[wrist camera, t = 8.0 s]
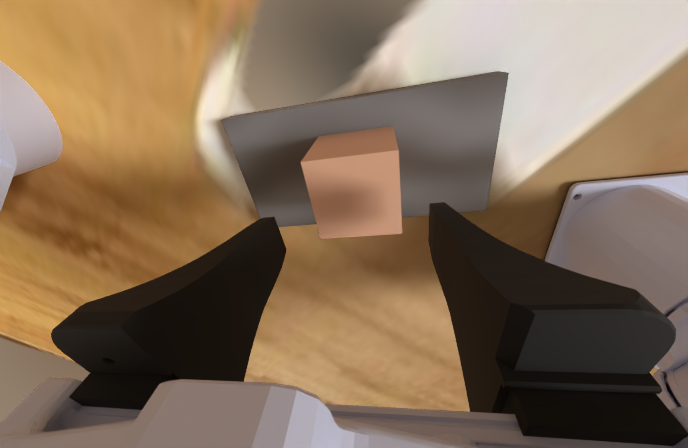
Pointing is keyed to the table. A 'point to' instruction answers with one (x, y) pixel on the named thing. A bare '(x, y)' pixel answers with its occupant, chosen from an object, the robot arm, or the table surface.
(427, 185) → the charcoal board
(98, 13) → the table surface
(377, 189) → the cube
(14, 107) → the wedge on round base
